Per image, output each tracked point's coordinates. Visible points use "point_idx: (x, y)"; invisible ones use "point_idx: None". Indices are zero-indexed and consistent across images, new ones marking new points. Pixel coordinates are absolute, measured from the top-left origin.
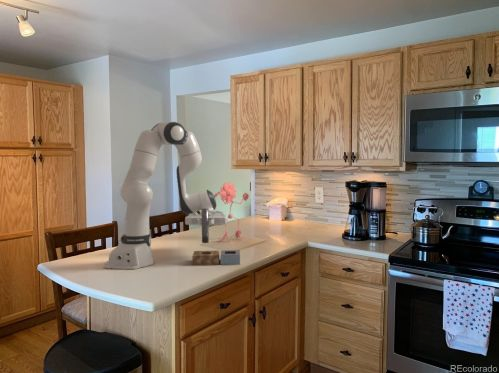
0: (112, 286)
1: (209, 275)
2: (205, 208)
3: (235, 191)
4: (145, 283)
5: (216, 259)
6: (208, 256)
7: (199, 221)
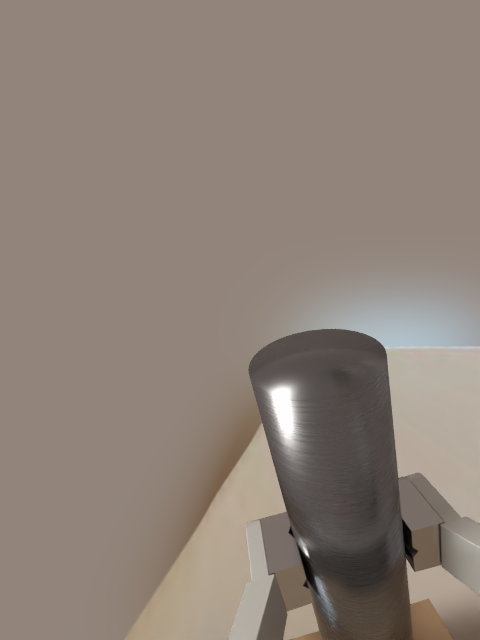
0: (465, 362)
1: (263, 478)
2: (325, 379)
3: None
4: (407, 389)
5: None
6: (318, 637)
7: (405, 478)
